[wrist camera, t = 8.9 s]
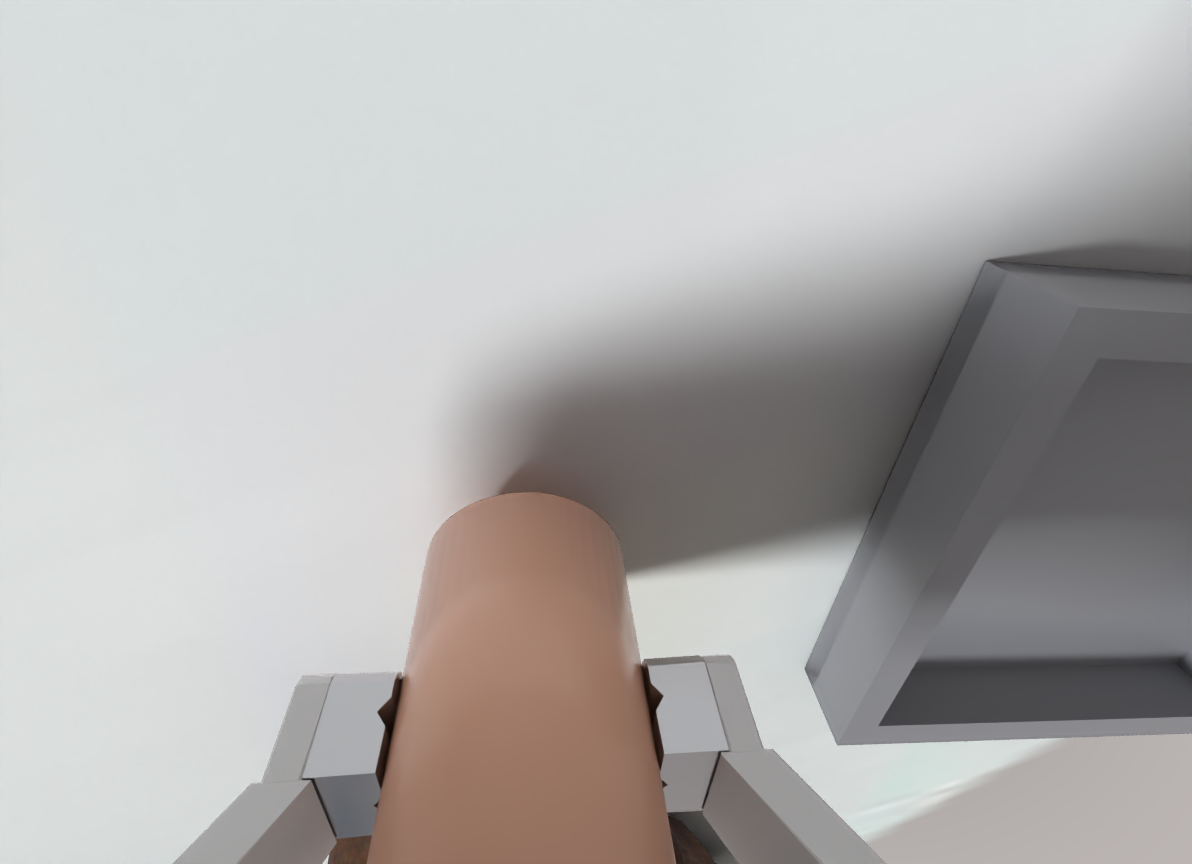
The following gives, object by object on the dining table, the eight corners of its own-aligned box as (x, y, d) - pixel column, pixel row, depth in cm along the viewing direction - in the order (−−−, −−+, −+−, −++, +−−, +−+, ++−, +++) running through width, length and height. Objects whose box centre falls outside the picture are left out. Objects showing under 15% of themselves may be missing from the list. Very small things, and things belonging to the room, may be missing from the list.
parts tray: (985, 260, 11) (1079, 306, 9) (1512, 298, 12) (1687, 344, 10) (804, 668, 17) (837, 745, 15) (1165, 662, 18) (1236, 731, 16)
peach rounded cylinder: (414, 493, 11) (288, 1009, 5) (630, 490, 11) (732, 962, 6) (436, 633, 13) (364, 1103, 7) (615, 626, 14) (678, 1065, 8)
